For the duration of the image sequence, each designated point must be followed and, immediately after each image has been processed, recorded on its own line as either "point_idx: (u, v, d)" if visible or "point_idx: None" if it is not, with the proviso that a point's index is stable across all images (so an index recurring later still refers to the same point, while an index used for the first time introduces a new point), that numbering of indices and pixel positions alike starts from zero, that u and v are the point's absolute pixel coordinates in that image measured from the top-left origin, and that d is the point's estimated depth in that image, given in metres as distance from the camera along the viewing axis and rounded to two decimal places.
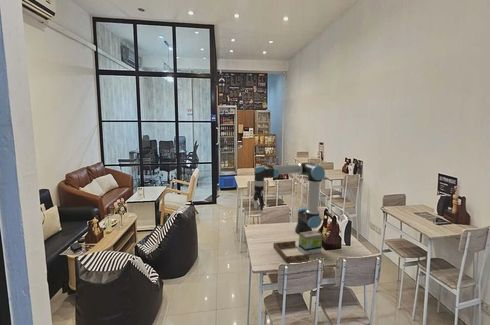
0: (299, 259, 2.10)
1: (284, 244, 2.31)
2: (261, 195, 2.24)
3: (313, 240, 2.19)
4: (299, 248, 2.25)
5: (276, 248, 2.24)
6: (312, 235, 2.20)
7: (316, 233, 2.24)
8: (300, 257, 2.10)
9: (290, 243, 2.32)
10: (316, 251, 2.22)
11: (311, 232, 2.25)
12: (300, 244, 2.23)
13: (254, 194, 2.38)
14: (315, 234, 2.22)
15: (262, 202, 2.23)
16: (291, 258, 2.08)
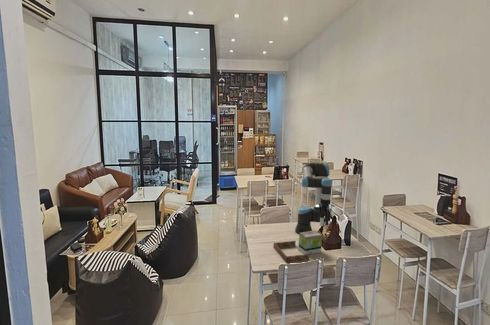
0: (299, 259, 2.10)
1: (284, 244, 2.31)
2: (329, 211, 2.17)
3: (313, 240, 2.19)
4: (299, 248, 2.25)
5: (276, 248, 2.24)
6: (312, 235, 2.20)
7: (316, 233, 2.24)
8: (300, 257, 2.10)
9: (290, 243, 2.32)
10: (316, 251, 2.22)
11: (311, 232, 2.25)
12: (300, 244, 2.23)
13: (319, 210, 2.28)
14: (315, 234, 2.22)
15: (329, 218, 2.18)
16: (291, 258, 2.08)
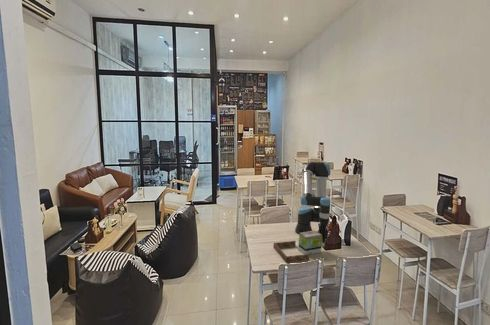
0: (299, 259, 2.10)
1: (284, 244, 2.31)
2: (327, 230, 2.20)
3: (313, 240, 2.19)
4: (299, 248, 2.25)
5: (276, 248, 2.24)
6: (312, 235, 2.20)
7: (316, 233, 2.24)
8: (300, 257, 2.10)
9: (290, 243, 2.32)
10: (316, 251, 2.22)
11: (311, 232, 2.25)
12: (300, 244, 2.23)
13: (319, 229, 2.29)
14: (315, 234, 2.22)
15: (326, 236, 2.22)
16: (291, 258, 2.08)
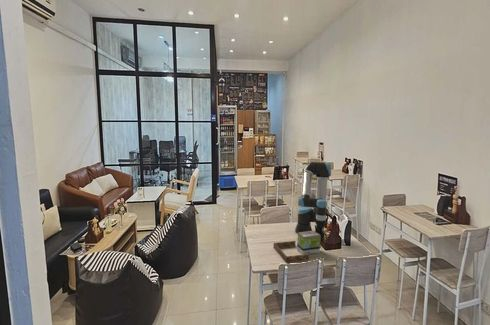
0: (299, 259, 2.10)
1: (284, 244, 2.31)
2: (323, 232, 2.19)
3: (311, 240, 2.18)
4: (297, 248, 2.25)
5: (276, 248, 2.24)
6: (310, 235, 2.20)
7: (315, 233, 2.23)
8: (300, 257, 2.10)
9: (290, 243, 2.32)
10: (314, 251, 2.21)
11: (310, 232, 2.25)
12: (298, 243, 2.24)
13: (315, 231, 2.29)
14: (314, 234, 2.21)
15: (322, 238, 2.22)
16: (291, 258, 2.08)
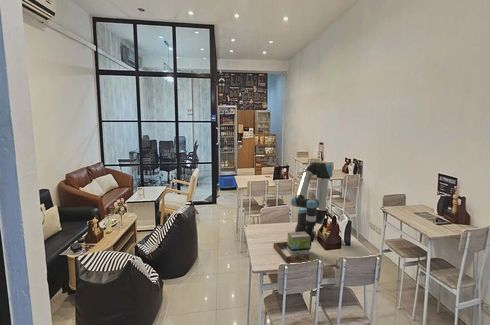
0: (299, 259, 2.10)
1: (284, 244, 2.31)
2: (313, 233, 2.17)
3: (300, 241, 2.17)
4: (287, 248, 2.24)
5: (276, 248, 2.24)
6: (299, 236, 2.18)
7: (305, 234, 2.21)
8: (300, 257, 2.10)
9: None
10: (304, 252, 2.19)
11: (300, 233, 2.23)
12: (288, 244, 2.23)
13: (306, 232, 2.27)
14: (303, 235, 2.19)
15: (312, 239, 2.19)
16: (291, 258, 2.08)
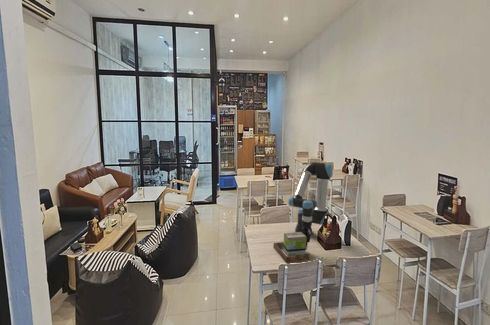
0: (299, 259, 2.10)
1: None
2: (309, 234, 2.16)
3: (296, 241, 2.16)
4: (283, 248, 2.23)
5: (276, 248, 2.24)
6: (295, 236, 2.17)
7: (301, 235, 2.20)
8: (300, 257, 2.10)
9: None
10: (300, 253, 2.19)
11: (296, 233, 2.22)
12: (284, 244, 2.22)
13: (302, 232, 2.26)
14: (299, 235, 2.19)
15: (308, 240, 2.19)
16: (291, 258, 2.08)
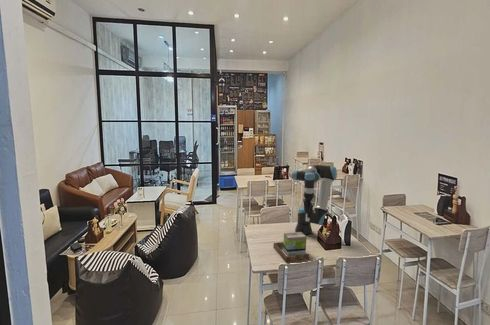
0: (299, 259, 2.10)
1: None
2: (312, 205, 2.20)
3: (295, 241, 2.16)
4: (283, 249, 2.23)
5: (276, 248, 2.24)
6: (295, 236, 2.17)
7: (301, 235, 2.20)
8: (300, 257, 2.10)
9: None
10: (300, 253, 2.19)
11: (296, 233, 2.22)
12: (284, 244, 2.22)
13: (304, 205, 2.29)
14: (299, 235, 2.19)
15: (311, 211, 2.23)
16: (291, 258, 2.08)
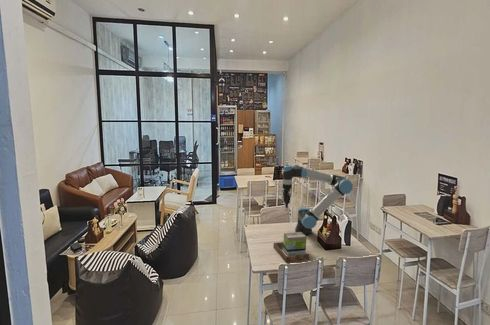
0: (299, 259, 2.10)
1: None
2: (289, 195, 2.38)
3: (295, 241, 2.16)
4: (283, 249, 2.23)
5: (276, 248, 2.24)
6: (295, 236, 2.17)
7: (301, 235, 2.20)
8: (300, 257, 2.10)
9: None
10: (300, 253, 2.19)
11: (296, 233, 2.22)
12: (284, 244, 2.22)
13: (283, 195, 2.47)
14: (299, 235, 2.19)
15: (288, 201, 2.40)
16: (291, 258, 2.08)
